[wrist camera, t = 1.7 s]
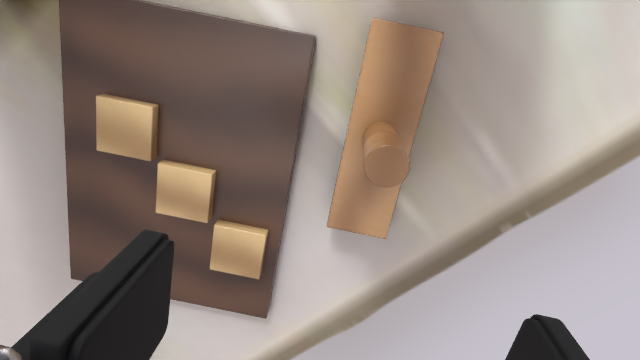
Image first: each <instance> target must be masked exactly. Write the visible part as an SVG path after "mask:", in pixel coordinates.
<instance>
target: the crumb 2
mask: <svg viewBox="0 0 640 360" xmlns="http://www.w3.org/2000/svg"><path fill="white" fill-rule="evenodd" d="M215 179H216V170H213V169H208V168H203V167H198V166H193V165H188V164H183V163H178V162H173V161H168V160H162V161H161V162H159V163H158V172H157V194H156V213H160V214H165V215H170V216H174V217H179V218H184V219H189V220H194V221H199V222H204V223H208V222H209V220H210V219H211V218H212V208H213V199H214V189H215Z"/></svg>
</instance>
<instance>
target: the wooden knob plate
mask: <svg viewBox="0 0 640 360" xmlns="http://www.w3.org/2000/svg"><path fill="white" fill-rule="evenodd" d="M443 34H444V33H443V32H439V31H434V30H429V29H424V28H419V27H414V26H409V25H404V24H399V23H394V22H389V21H384V20H379V19H374V18H373V19H372V20H371V25H370V29H369V34H368V38H367V43H366V48H365V52H364V57H363V61H362V66H361V71H360V75H359V80H358V84H357V89H356V93H355V98H354V103H353V107H352V112H351V116H350V121H349V125H348V130H347V135H346V139H345V144H344V148H343V153H342V158H341V162H340V167H339V171H338V176H337V180H336V185H335V190H334V194H333V199H332V203H331V208H330V212H329V217H328V222H327V227H330V228H335V229H340V230H345V231H350V232H354V233H359V234H364V235H369V236H374V237H379V238H384V239H386V236H387V233H388V229H389V226H390V222H391V219H392V215H393V212H394V208H395V205H396V201H397V197H398V194H399V190H400V187H401V183H402V181H403V180H404V179H405V178H406V177H407V175H408V172H409V169H410V162H409V155H410V151H411V148H412V144H413V141H414V137H415V134H416V130H417V127H418V123H419V119H420V116H421V112H422V109H423V105H424V102H425V98H426V95H427V91H428V88H429V84H430V80H431V77H432V73H433V70H434V66H435V63H436V59H437V56H438V52H439V49H440V45H441V41H442V38H443Z"/></svg>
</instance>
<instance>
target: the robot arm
mask: <svg viewBox="0 0 640 360" xmlns="http://www.w3.org/2000/svg"><path fill="white" fill-rule="evenodd" d="M173 258H174V241H171V240H169V237H168V235H167V234H165V233H161V232H156V231H152V230H147V229H145V230H143V231H142V232H141V233H140V234H139V235H138V236H137V237H136V238H135V239H134V240H132V241H131V242H130V243H129V244H128V245H127V246H126V247H125V248H124V249H123V250H122V251H121V252H120V253H119V254H118V255H117V256H116V257H115V258H114V259H112V260H111V261H110V262H109V263H108V264H107V265H106V266H105V267H104V268H103V269H102V270H101V271H100V272H95V273H92V274H91V275H89V276H88V277H87V278H86V279H85V280H84V281H83V282H82V283H80V284H79V285H78V286H77V287H76V288H75V289H74V290H73V291H72V292H71V293H70V294H69V295H68V296H66V297H65V298H64V299H63V300H62V301H61V302H60V303H59V304H58V305H57V306H56V307H55V308H53V309H52V310H51V311H50V312H49V313H48V314H47V315H46V316H45V317H44V318H43V319H42V320H40V321H39V322H38V323H37V324H36V325H35V326H34V327H33V328H32V329H31V330H30V331H29V332H28V333H26V334H25V335H24V336H23V337H22V338H21V339H20V340H19V341H18V342H17V343H16V344H15V345H13V346H12V347H11V348H10V347H6V346H3V345H0V360H149V359H150V357H151V356H152V354H153V353H154V351H155V349H156V348H157V346H158V344H159V343H160V341H161V340H162V338H163V336H164V334H165V332H166V329H167V325H168V316H169V305H170V293H171V281H172V270H173ZM505 360H590V359H589V358H588V357H587V355H586V354H585V353H584V351H583V350H582V348H581V347H580V346H579V344H578V343H577V342H576V340H575V339H574V337H573V336H572V335H571V333H570V332H569V331H568V329H567V328H566V327H565V325H564V324H563V323H562V322H561V321H560V320H558V319H556V318H551V317H546V316H542V315H533V316H532V317H531V318H530V319H526V320H525V321H524V322H523V324H522V326H521V328H520V330H519V332H518V334H517V336H516V338H515V341H514V342H513V345H512V347H511V349H510V351H509V353H508V355H507V357H506V359H505Z"/></svg>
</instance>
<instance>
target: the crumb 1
mask: <svg viewBox="0 0 640 360" xmlns="http://www.w3.org/2000/svg"><path fill="white" fill-rule="evenodd" d="M158 111H159V105H157V104H152V103H147V102H142V101H137V100H132V99H128V98H123V97H118V96H113V95H108V94H101V95H97V96H96V140H97V151H102V152H107V153H112V154H117V155H122V156H127V157H131V158H136V159H141V160H146V161H152V160H153V159H155V158H156V157H157V134H158Z"/></svg>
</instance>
